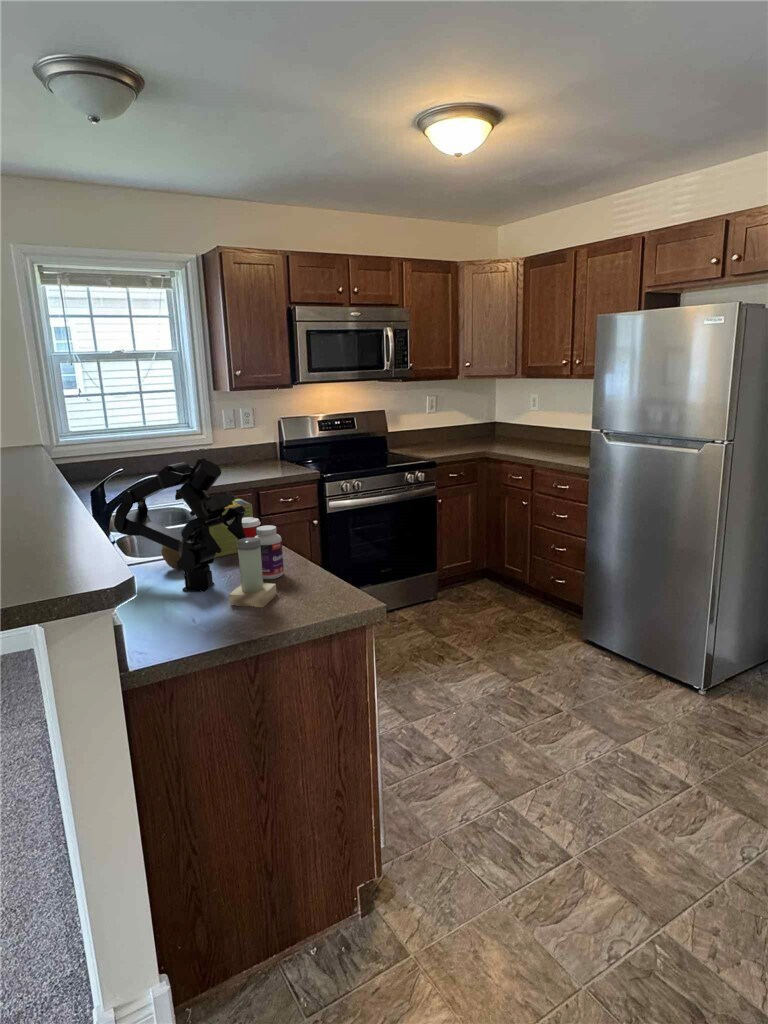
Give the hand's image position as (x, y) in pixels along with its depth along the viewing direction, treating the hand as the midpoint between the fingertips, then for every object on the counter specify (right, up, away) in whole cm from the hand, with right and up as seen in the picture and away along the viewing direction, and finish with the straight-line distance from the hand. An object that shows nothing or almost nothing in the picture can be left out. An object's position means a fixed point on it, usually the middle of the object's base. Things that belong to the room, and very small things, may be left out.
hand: (233, 547), depth 163 cm
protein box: (-12, -4, +44) cm, 46 cm away
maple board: (+5, -14, +1) cm, 15 cm away
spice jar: (+5, -11, 0) cm, 12 cm away
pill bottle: (+6, -9, +18) cm, 22 cm away
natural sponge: (-23, -8, +27) cm, 36 cm away
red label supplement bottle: (-2, -7, +29) cm, 30 cm away
